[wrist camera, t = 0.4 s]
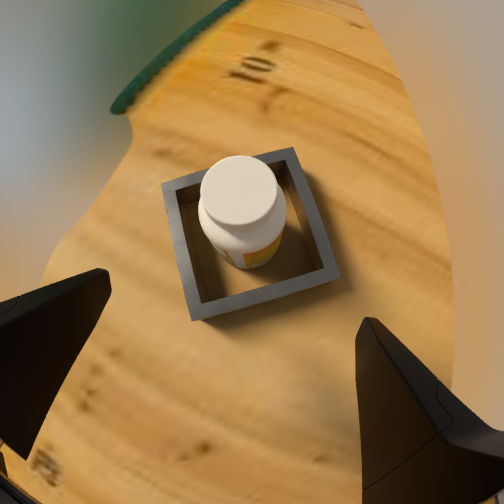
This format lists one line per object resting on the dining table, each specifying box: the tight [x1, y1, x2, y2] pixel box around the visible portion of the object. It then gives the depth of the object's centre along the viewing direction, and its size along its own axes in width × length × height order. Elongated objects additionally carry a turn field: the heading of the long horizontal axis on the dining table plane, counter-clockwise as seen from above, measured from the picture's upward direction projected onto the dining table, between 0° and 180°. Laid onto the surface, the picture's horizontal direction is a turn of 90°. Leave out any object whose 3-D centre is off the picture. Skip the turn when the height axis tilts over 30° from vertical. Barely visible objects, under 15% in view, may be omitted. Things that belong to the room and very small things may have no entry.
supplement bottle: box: [198, 156, 287, 269], centre depth 19 cm, size 5×5×10 cm
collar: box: [161, 147, 341, 321], centre depth 22 cm, size 11×11×3 cm
